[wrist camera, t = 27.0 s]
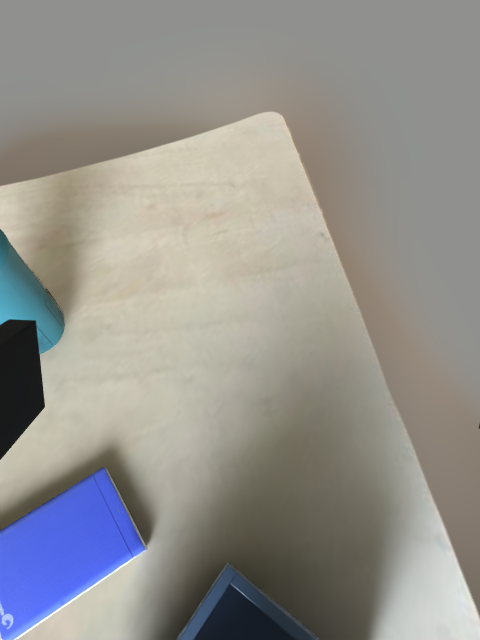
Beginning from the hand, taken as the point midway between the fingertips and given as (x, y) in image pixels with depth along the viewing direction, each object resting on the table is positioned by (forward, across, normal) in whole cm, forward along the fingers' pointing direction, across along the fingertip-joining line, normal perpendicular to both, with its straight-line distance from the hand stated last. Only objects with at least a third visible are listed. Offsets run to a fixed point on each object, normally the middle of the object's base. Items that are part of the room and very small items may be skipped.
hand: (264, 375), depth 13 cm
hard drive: (+20, -15, -27) cm, 37 cm away
